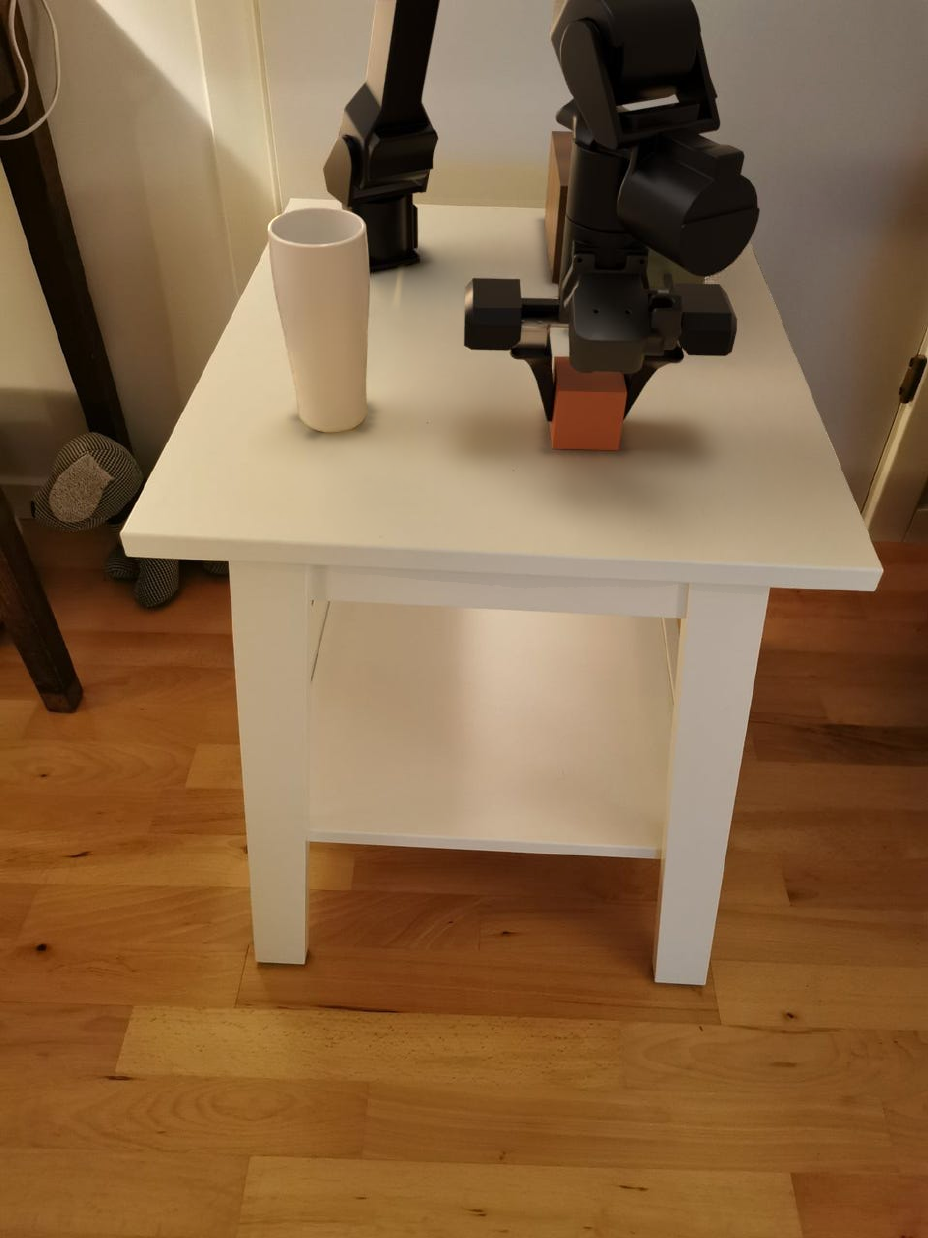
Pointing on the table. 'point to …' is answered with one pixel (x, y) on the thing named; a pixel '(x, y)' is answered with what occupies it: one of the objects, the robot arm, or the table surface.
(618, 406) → the block
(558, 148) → the cabinet
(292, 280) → the drinking glass
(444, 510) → the table surface
